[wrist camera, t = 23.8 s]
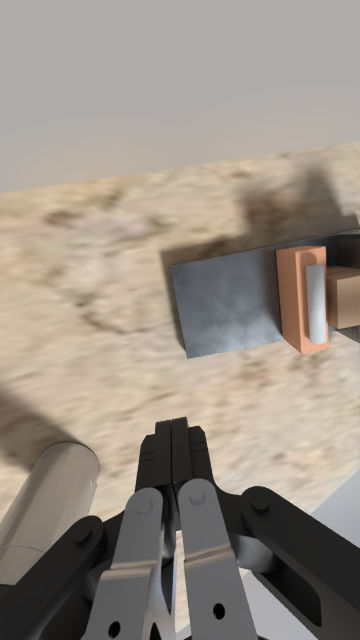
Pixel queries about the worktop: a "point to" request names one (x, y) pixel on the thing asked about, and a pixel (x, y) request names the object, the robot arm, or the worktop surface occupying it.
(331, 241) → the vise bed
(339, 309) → the walnut block
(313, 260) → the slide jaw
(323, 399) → the worktop surface
